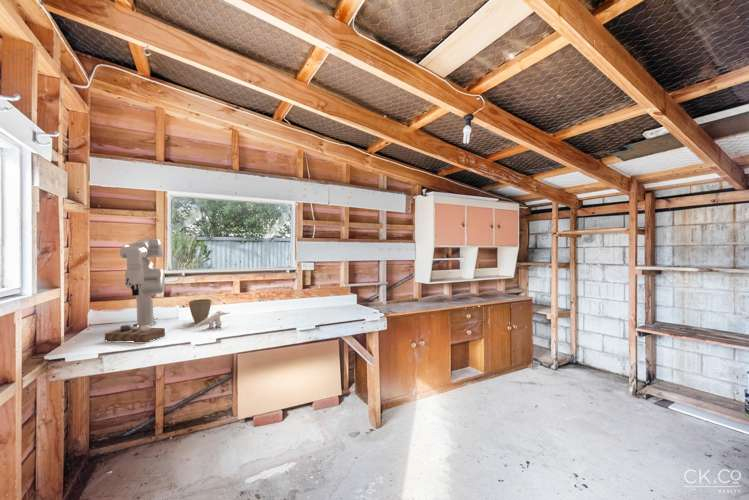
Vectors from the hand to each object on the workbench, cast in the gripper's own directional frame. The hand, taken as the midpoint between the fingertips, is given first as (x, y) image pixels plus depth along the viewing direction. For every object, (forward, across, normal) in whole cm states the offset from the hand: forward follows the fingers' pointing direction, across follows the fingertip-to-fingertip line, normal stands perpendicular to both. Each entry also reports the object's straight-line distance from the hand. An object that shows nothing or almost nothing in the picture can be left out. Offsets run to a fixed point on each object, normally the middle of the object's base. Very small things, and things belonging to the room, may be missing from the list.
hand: (135, 295), depth 201 cm
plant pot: (+27, -34, +20) cm, 48 cm away
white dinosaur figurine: (+26, -20, +39) cm, 51 cm away
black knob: (+26, +7, -1) cm, 27 cm away
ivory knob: (+25, +8, +13) cm, 29 cm away
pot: (+21, +7, +6) cm, 23 cm away
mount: (+26, +7, +6) cm, 27 cm away
